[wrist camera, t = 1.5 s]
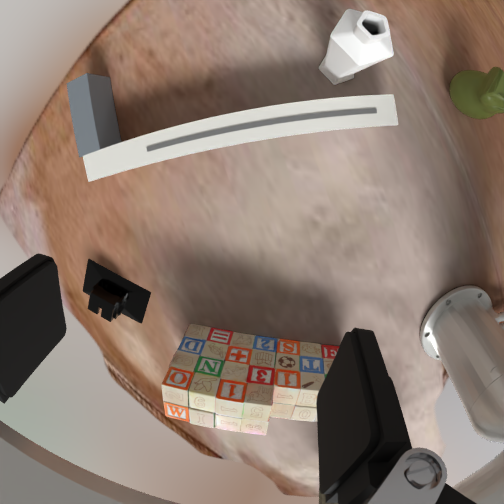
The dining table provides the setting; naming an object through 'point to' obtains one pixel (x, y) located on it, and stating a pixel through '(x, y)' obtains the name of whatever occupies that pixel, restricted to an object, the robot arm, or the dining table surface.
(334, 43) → the white faceted vase
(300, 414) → the stack of blocks
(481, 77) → the pear
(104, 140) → the guide fence
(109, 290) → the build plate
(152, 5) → the dining table surface
